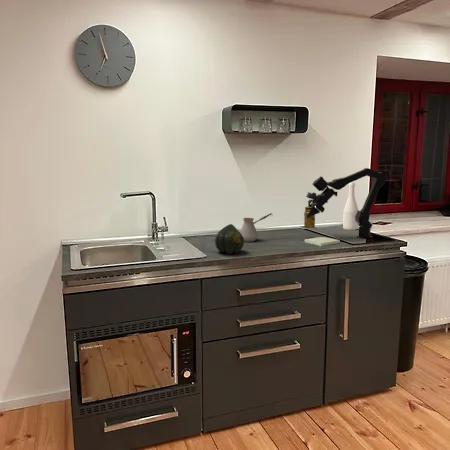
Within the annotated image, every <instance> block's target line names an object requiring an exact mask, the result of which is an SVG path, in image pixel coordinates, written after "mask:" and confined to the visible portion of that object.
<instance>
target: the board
mask: <svg viewBox="0 0 450 450" xmlns="http://www.w3.org/2000/svg"><path fill="white" fill-rule="evenodd" d="M304 243H306V244H311V245H315V246H319V247H322V246H329V245H334V244H335V245H336V244H339V243H341V242H340V239H336V238H331V237H327V236H319V237H313V238H306V239H304Z"/></svg>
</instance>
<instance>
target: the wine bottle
mask: <svg viewBox="0 0 450 450" xmlns="http://www.w3.org/2000/svg"><path fill="white" fill-rule="evenodd" d="M355 186H356V184H355V182H351V183H349V184H348V187H349V188H348V197H347V200H346V203H345V205H344V207H343V213H342V215H343V220H342V228H343V229H344V230H349V231H355V230H356V231H357V230H359V225H358V223H357V222H356V221H355V215H356V214H357V211H358V210H359V207H358V204H357V201H356V197H355Z"/></svg>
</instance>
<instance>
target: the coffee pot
mask: <svg viewBox="0 0 450 450" xmlns="http://www.w3.org/2000/svg"><path fill="white" fill-rule="evenodd" d="M270 216H271V217H273V216H274V214H273V213H271V212H270V213H268V214H267V215H264V216H262V217H261V218H259V219H258V220H255V221H254V218H253V217H243V218H242V220H243V224H242V227H241V229H240V231H239V232H240V233H241V234H242V236H243V238H244V243H246V242H249V243H250V242H251V243H252V242H255V241H257V240H258V238H259V233H258V232H257V231H258V230H257V228H256V226H255V224H256V223H259V222H261V221H263V220H265V219H266V218H268V217H270Z"/></svg>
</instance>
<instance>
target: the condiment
mask: <svg viewBox="0 0 450 450" xmlns="http://www.w3.org/2000/svg"><path fill="white" fill-rule="evenodd" d="M304 209H305V210H304V212H303V216H304V217H303V218H304V221H303V222H304V224H303V225H299V228H301V229H303V230H304V229H317V227H316V214H315V215H313V216H311V217H308V218H307V217H306V216H307V215H308V213H309V212H310V210H311V209H312V207H308V206H306V207H304Z"/></svg>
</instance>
